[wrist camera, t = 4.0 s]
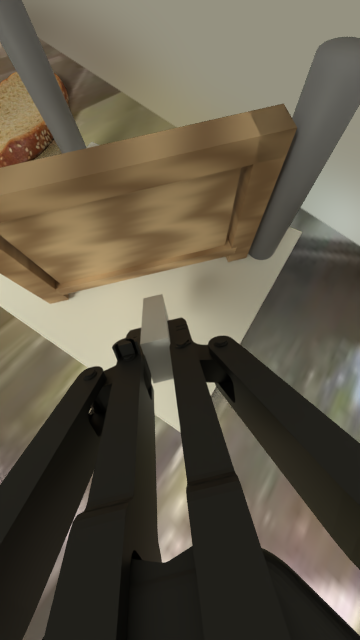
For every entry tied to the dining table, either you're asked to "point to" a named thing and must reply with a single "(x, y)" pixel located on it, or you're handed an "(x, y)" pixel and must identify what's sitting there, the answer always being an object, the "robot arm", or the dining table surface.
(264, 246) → the gate frame
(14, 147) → the slice of bread
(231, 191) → the gate
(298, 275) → the dining table surface
